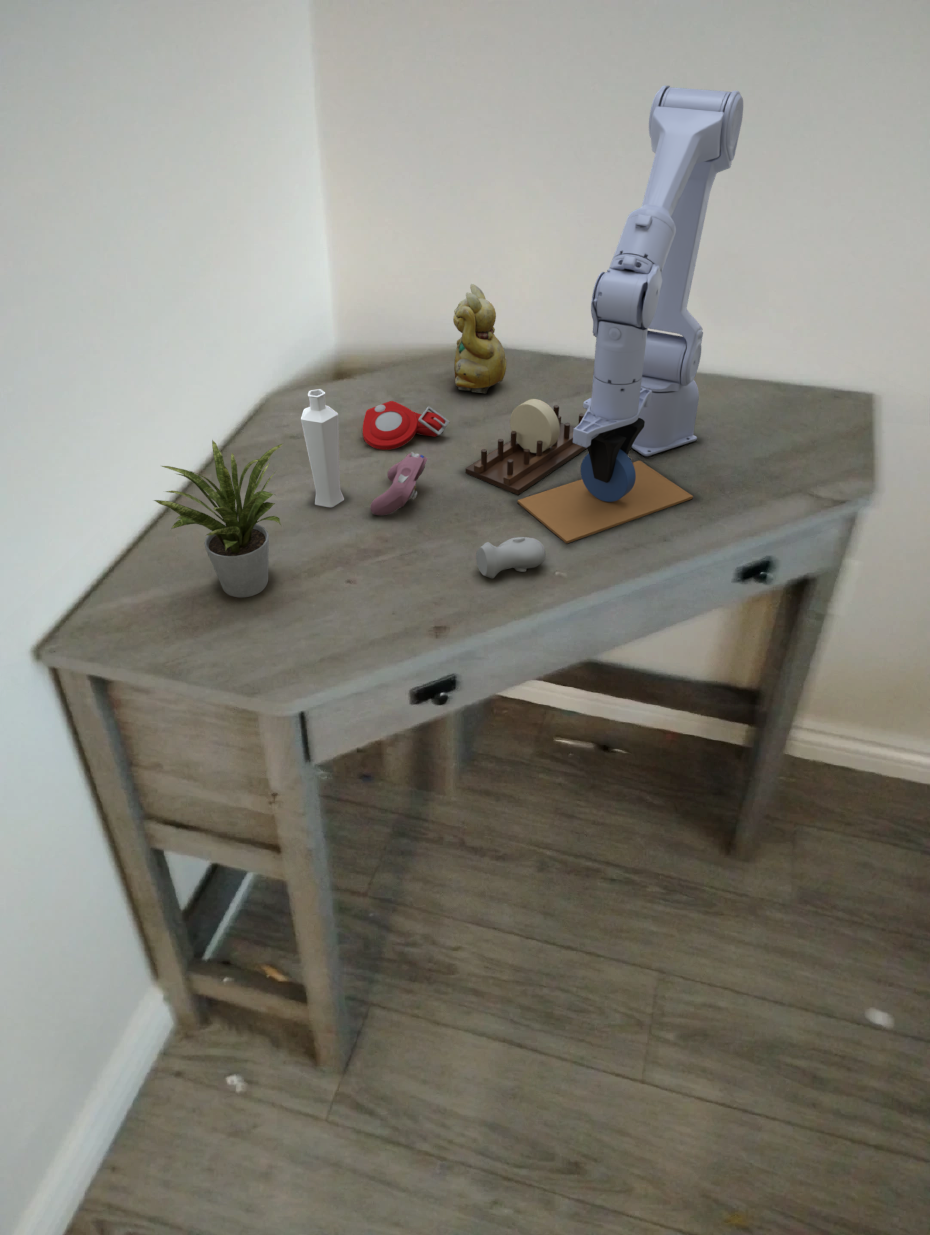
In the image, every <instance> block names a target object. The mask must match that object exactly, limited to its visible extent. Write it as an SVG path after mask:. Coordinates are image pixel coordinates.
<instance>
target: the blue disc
mask: <svg viewBox="0 0 930 1235" xmlns="http://www.w3.org/2000/svg"><path fill="white" fill-rule="evenodd" d="M580 477H581V479H582V480H583V483H584V485H585V486H586V488H587V489H588V491H589V492H590V493H591V494H592V495H593V496H595V497H596V498H598V499H600V500H602V501H606V502H614V501H617V500H619V499H621V498H622V497H623V496H625V495H626V494H627V493H628V492H630V491H631V489H632V488H633V486H634V484H635V479H636V474H635V468H634V465H633V461H632V460H631V458H630V456H629V454H628V455H627V454H626V453H625V452H624V451H622V450H621V449H620V450H619V452H618V455H617V458H616V461H615V466H614V471H613V475H612V477H611V480H610V481H609V482H608V483H605V482H603V481H600V480H598V479H595V478H594V475H593V470H592V464H591V460H590V456H589V452H587V454H586V455H585V456H584V457H583V458H582V461H581V464H580Z"/></svg>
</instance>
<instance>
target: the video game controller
mask: <svg viewBox="0 0 930 1235" xmlns="http://www.w3.org/2000/svg"><path fill="white" fill-rule="evenodd" d="M428 460H429V458H428V457H426V456H424V455H422V454H420V453H414V451H412V450H411V452H410V453H408V454H407V455H405V457H404V458H403V459H401V460H400V461H399V462H397V463H395V464H393V465H391V467H390V468H389V470H388V471H387V479H388V480H389V481H390V482H391V485H390V487H389V488H388V489H387V490H386V491H385V492H383V493H381V494H380V495H378V496H377V497H375V498H374V499H373V500H372V502H371V503H370V505H369V506H370V512H371V513H372V514H373V515H375V516H388V515H390V514H392V513H394V512H396V511H397V510H398V509H400V508H401V509H402V508H404V506H405V505H406V503H407V502H408V501H409V500H412V501H413V500H415V499H416V497H417V496H418V491H417V490H416V489H417V486H416V483H417V481H418V480H419V478H420V476H421V475H422V474H423V472H424V471H425V468H426V464H427V461H428Z"/></svg>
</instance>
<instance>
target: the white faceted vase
mask: <svg viewBox="0 0 930 1235" xmlns="http://www.w3.org/2000/svg"><path fill="white" fill-rule="evenodd" d="M307 392H308V393H307V397H308V400H309V406H308V407H305V408H303V411H302V414H301V417H300V422H301V426H302V432H303V436H304V441H305V445H306V446H305V447H306V451H307V456H308V460H309V465H310V470H311V475H312V480H313V484H314V490H315V498H314V505H315V506H320V507H326V508H334V507H335V506H337V505H339V504H340V503H342V502H343V501H345V497H344V495H343V492H342V490H341V475H340V474H341V473H340V472H341V470H340V465H341V464H340V434H339V433H340V432H339V431H340V429H339V428H340V427H339V426H340V425H339V412H337V411H336V410H334V409H333V408H332V407H330V405H326V396H325V395H326V392H325V391H324V390H323V389H322V388H317V389H311V390H308V391H307Z"/></svg>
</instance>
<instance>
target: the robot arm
mask: <svg viewBox="0 0 930 1235" xmlns="http://www.w3.org/2000/svg"><path fill="white" fill-rule="evenodd" d="M743 98H744V97H743V96H742V93H741V92H740V91H739V90H732V91H726V90H715V89H703V88H701V89H699V88H688V87H675V86H673V87H672V86H671V85H667V84H664V85H661V87H660V88H659V89H658V91H656V93H655V95H654V97H653V99H652V102H651V106H650V111H649V118H648V135H649V138H650V147H651V151H652V152H653V153H654V156H653V157H654V158H653V161H652V165H651V169H650V172H649V177H648V181H647V184H646V187H645V192H644V196H643V200H642V204H641V207H639V208H636V209H634V210H633V211H631V212H629V214H628V216H627V217H626V220H625V223H624V226H623V228H622V231H621V234H620V237H619V240H618V243H617V245H616V247H615V251H614V254H613V257H612V259H611V262H610V265H609V267H608V269H607V270H606V271H601V272H600V273H599V275H598V276H597V278H596V280H595V282H594V286H593V290H592V295H591V301H590V314H591V318H592V335H593V337H595V348H594V349H595V350H594V359H593V360H594V362H593V372H592V373H593V374H592V387H591V397H588V399H586V400H585V401H583V402H582V408H583V409H585V410H586V411H585V413H584V417H583V418H582V420H581V422H580V424H579V425H576V427H575V428H574V432H573V443H574V444H577V445H580V446H583V447H586V450H587V453H589V456H590V460H591V464H592V470H593V475H594V478H595V479H598V480H600V481H603V482H605V483H608V482H609V481H610V480H611V477H612V475H613V471H614V466H615V461H616V458H617V455H618V452H619V450H620V449H621V450H622V451H624V452H625V453H626V454H627V455H628V456H629V454H630V452H631V449H633V450H635V451H636V452H638V453H639V454H641V455H642V456H644V457H650V456H653V455H656V454H659V453H662V452H665V451H668V450H671V449H674V448H677V447H680V446H683V445H687V444H690V443H693V442H695V441H697V439H698V437H697V436H696V435H694V432H695V424H696V419H697V414H698V413H697V412H698V406H699V401H700V392H699V388H698V385H697V383H696V381H695V378H696V375H697V372H698V370H699V366H700V362H701V356H702V343H703V336H704V331H703V327H702V325H701V324H700V322H699V321H697V319H696V318H695V316H694V315H692V313H691V312H690V311H689V310H688V303H689V298H690V295H691V294H690V293H691V289H692V284H693V279H694V275H695V269H696V264H697V260H698V254H699V250H700V244H701V240H702V235H703V230H704V224H705V220H706V215H707V209H708V205H709V200H710V194H711V190H712V187H713V185H714V182H715V180H716V176H717V174H718V173H721V172H723V171H727V170H728V169H731V167H732V163H733V160H734V159H735V156H736V152H737V147H738V141H739V136H740V132H741V127H742V122H743V116H744V99H743ZM655 330H656V331H655ZM659 331H660V332H659ZM665 332H667V333H665ZM670 333H672V334H670ZM676 334H677V335H676Z"/></svg>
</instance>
